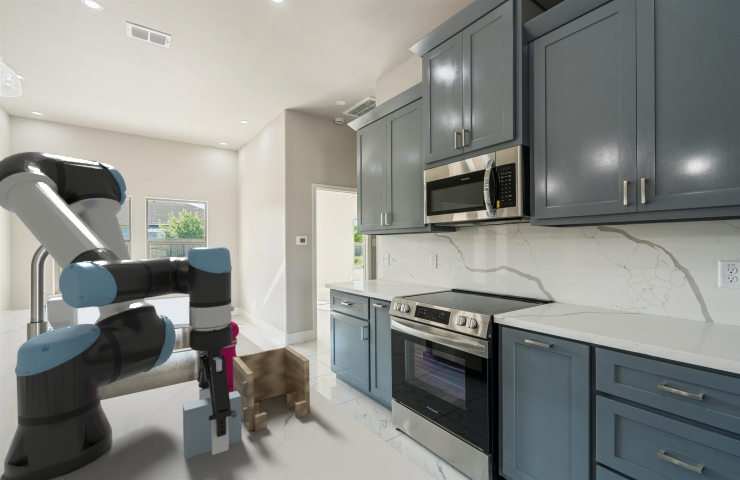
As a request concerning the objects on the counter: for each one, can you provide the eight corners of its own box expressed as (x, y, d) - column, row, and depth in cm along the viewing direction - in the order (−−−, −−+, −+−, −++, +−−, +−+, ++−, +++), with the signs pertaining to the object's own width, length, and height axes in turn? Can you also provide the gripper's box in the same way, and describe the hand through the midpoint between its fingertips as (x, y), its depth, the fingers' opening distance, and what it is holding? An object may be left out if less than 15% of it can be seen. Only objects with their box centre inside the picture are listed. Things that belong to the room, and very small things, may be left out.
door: (186, 461, 63) (185, 412, 63) (183, 451, 66) (182, 404, 66) (242, 442, 69) (242, 397, 69) (238, 433, 72) (237, 390, 72)
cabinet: (245, 434, 71) (244, 376, 71) (229, 407, 83) (228, 357, 83) (311, 413, 80) (310, 361, 80) (289, 391, 91) (288, 346, 91)
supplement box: (78, 327, 164) (78, 295, 163) (74, 331, 156) (73, 298, 156) (53, 329, 159) (52, 297, 159) (47, 334, 151) (46, 300, 151)
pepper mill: (232, 397, 88) (230, 319, 88) (207, 395, 90) (205, 318, 90) (247, 385, 95) (246, 313, 95) (224, 383, 97) (223, 312, 97)
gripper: (248, 337, 59) (250, 459, 60) (218, 312, 80) (220, 403, 80) (200, 345, 55) (202, 477, 55) (182, 317, 76) (183, 413, 76)
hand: (213, 434), depth 68 cm, fingers open, 13 cm apart
